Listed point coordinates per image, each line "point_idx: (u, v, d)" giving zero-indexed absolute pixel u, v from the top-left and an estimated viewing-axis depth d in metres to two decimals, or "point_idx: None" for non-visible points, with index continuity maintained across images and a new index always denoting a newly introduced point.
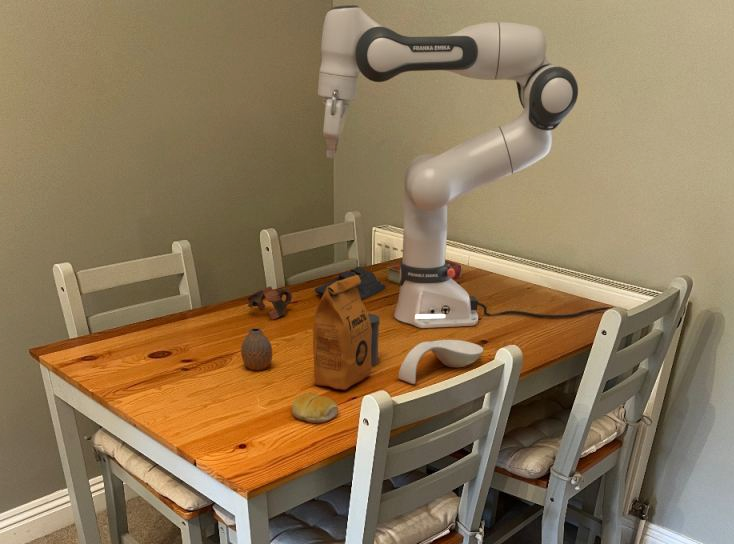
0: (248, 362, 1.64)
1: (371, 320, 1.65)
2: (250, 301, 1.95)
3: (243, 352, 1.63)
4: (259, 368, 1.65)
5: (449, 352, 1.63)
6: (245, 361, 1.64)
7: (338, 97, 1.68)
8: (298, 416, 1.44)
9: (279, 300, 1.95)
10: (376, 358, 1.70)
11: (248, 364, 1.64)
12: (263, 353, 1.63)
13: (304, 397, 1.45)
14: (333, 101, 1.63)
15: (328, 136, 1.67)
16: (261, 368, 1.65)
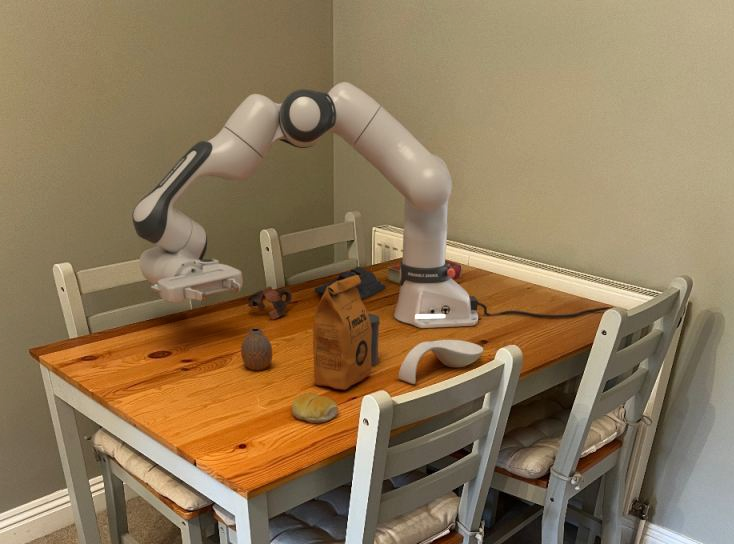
0: (248, 362, 1.64)
1: (371, 320, 1.65)
2: (250, 301, 1.95)
3: (243, 352, 1.63)
4: (259, 368, 1.65)
5: (449, 352, 1.63)
6: (245, 361, 1.64)
7: None
8: (298, 416, 1.44)
9: (279, 300, 1.95)
10: (376, 358, 1.70)
11: (248, 364, 1.64)
12: (263, 353, 1.63)
13: (304, 397, 1.45)
14: (151, 288, 1.68)
15: (171, 297, 1.64)
16: (261, 368, 1.65)
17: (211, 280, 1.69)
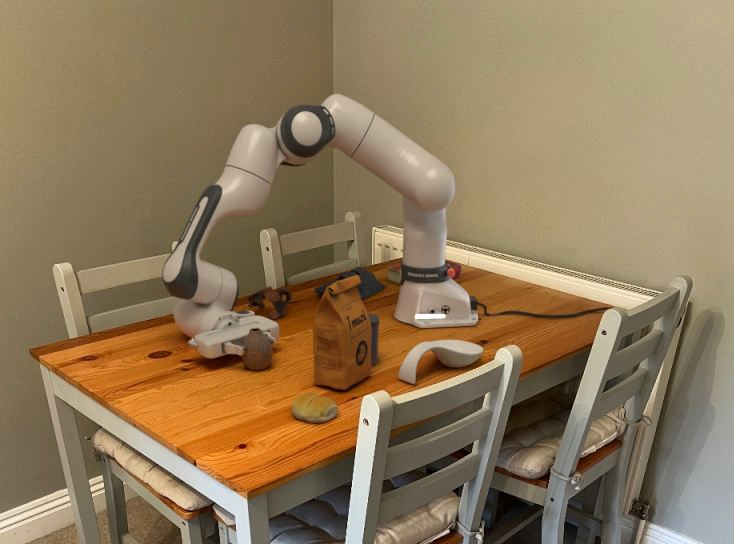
0: (248, 362, 1.64)
1: (371, 320, 1.65)
2: (250, 301, 1.95)
3: None
4: (259, 368, 1.65)
5: (449, 352, 1.63)
6: (245, 361, 1.64)
7: None
8: (298, 416, 1.44)
9: (279, 300, 1.95)
10: (376, 358, 1.70)
11: (248, 364, 1.64)
12: (263, 353, 1.63)
13: (304, 397, 1.45)
14: (188, 343, 1.65)
15: (209, 353, 1.62)
16: (261, 368, 1.65)
17: None
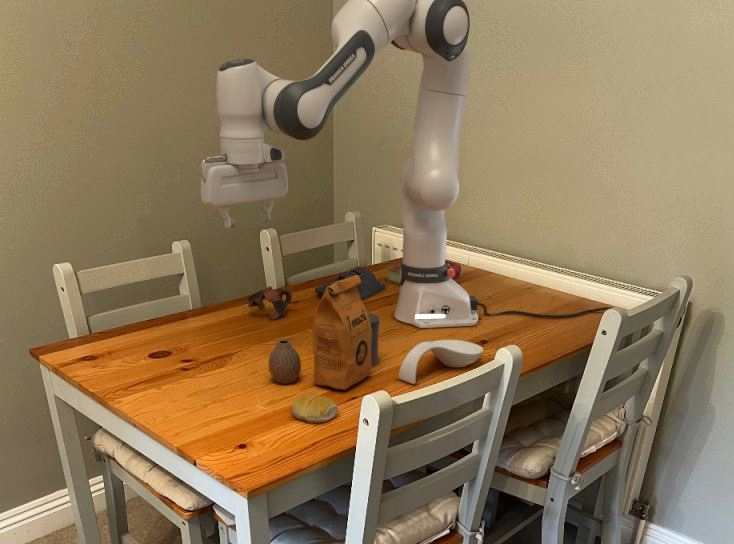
0: (276, 375, 1.58)
1: (371, 320, 1.65)
2: (250, 301, 1.95)
3: (271, 365, 1.57)
4: (287, 381, 1.59)
5: (449, 352, 1.63)
6: (273, 374, 1.58)
7: (227, 162, 1.49)
8: (298, 416, 1.44)
9: (279, 300, 1.95)
10: (376, 358, 1.70)
11: (276, 377, 1.58)
12: (292, 366, 1.57)
13: (304, 397, 1.45)
14: (201, 167, 1.46)
15: (206, 204, 1.50)
16: (289, 381, 1.59)
17: None
